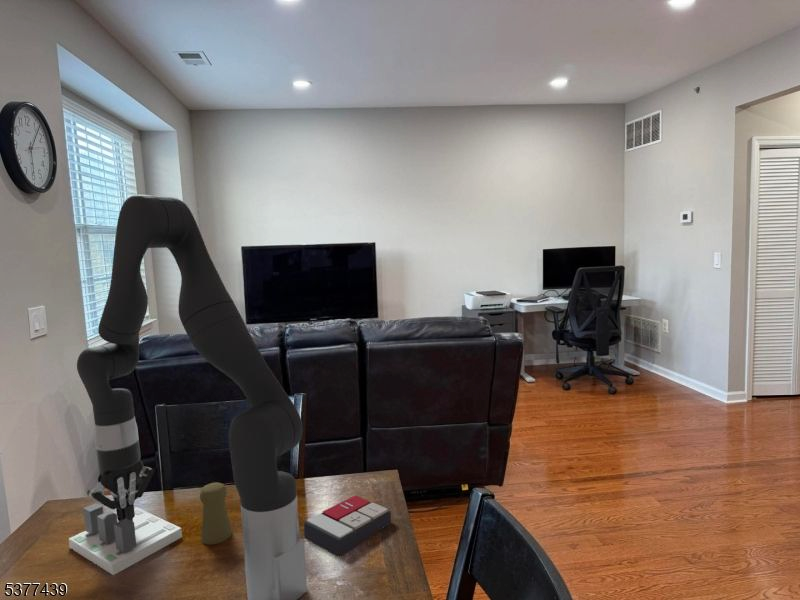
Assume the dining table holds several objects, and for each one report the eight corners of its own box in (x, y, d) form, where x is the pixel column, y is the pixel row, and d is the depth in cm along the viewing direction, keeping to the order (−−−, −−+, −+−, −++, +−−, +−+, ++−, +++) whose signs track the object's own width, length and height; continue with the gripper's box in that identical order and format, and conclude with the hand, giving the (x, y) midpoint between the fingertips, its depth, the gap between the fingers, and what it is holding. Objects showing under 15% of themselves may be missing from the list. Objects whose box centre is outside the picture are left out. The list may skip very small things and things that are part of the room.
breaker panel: (182, 537, 104) (181, 527, 103) (113, 575, 92) (112, 564, 92) (137, 515, 113) (136, 506, 113) (69, 547, 101) (68, 538, 101)
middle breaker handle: (119, 538, 100) (116, 514, 99) (106, 544, 98) (104, 520, 97) (111, 534, 101) (109, 510, 101) (99, 540, 99) (96, 516, 99)
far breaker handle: (104, 529, 103) (102, 506, 103) (92, 535, 101) (90, 511, 101) (98, 525, 105) (95, 502, 104) (85, 531, 103) (83, 508, 102)
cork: (221, 545, 100) (217, 493, 99) (194, 543, 101) (190, 491, 100) (237, 528, 106) (233, 479, 105) (211, 526, 107) (207, 477, 106)
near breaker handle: (136, 546, 97) (134, 522, 96) (124, 553, 95) (121, 528, 94) (128, 542, 98) (126, 518, 98) (116, 548, 96) (113, 524, 96)
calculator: (391, 507, 106) (339, 536, 95) (391, 527, 106) (339, 558, 95) (355, 492, 113) (302, 518, 102) (355, 511, 113) (303, 538, 102)
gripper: (91, 457, 93) (102, 544, 95) (159, 433, 104) (167, 511, 106) (72, 450, 97) (83, 533, 99) (139, 427, 108) (147, 502, 110)
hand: (126, 521), depth 102 cm, fingers closed
